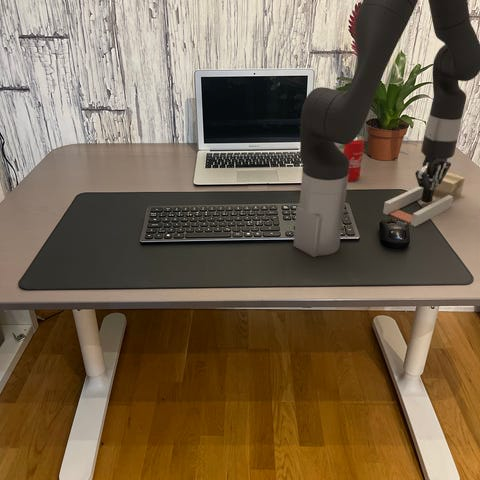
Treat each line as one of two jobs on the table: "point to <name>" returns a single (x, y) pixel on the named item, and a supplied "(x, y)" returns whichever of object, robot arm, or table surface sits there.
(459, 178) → the maple block
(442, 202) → the channel
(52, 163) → the table surface
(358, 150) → the beverage can
